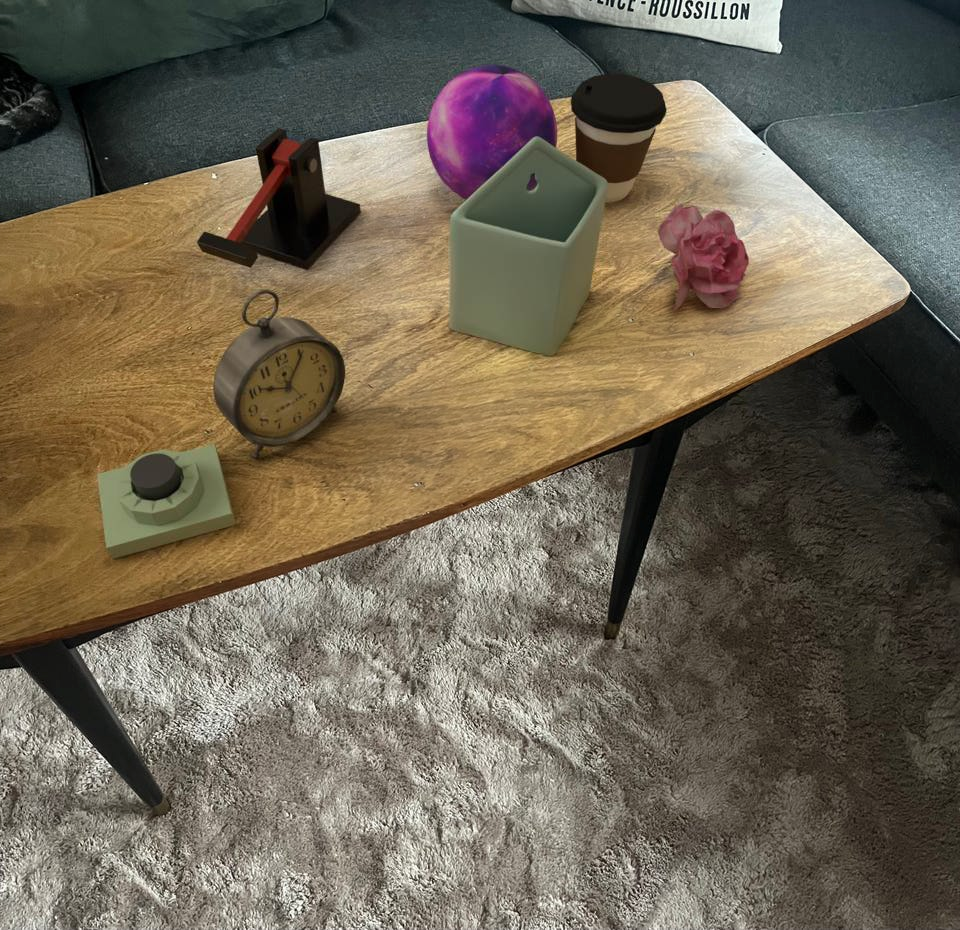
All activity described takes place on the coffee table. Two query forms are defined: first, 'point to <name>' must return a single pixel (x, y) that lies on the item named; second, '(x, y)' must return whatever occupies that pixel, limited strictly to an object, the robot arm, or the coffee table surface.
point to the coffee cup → (616, 127)
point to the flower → (704, 255)
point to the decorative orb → (486, 125)
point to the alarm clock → (278, 379)
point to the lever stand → (298, 207)
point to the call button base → (165, 504)
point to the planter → (526, 250)
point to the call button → (155, 476)
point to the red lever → (250, 214)
